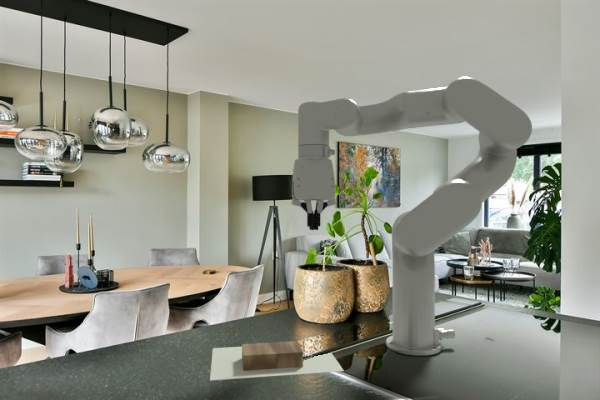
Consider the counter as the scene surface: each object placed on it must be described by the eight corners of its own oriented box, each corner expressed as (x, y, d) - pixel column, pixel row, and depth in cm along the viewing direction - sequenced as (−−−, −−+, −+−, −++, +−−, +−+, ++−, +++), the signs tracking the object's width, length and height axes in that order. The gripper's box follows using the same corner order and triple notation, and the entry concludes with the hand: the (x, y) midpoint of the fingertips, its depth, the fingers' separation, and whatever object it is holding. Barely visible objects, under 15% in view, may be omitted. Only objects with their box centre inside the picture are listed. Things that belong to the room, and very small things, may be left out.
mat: (323, 343, 103) (323, 341, 103) (344, 373, 86) (344, 370, 86) (212, 350, 99) (212, 348, 99) (209, 382, 81) (209, 380, 81)
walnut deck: (297, 341, 95) (242, 344, 93) (302, 352, 88) (243, 355, 86) (297, 354, 95) (242, 358, 93) (302, 366, 88) (243, 370, 86)
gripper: (339, 156, 110) (339, 228, 110) (281, 155, 108) (281, 229, 108) (347, 153, 103) (347, 230, 103) (285, 151, 100) (285, 231, 100)
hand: (313, 229), depth 105 cm, fingers closed
